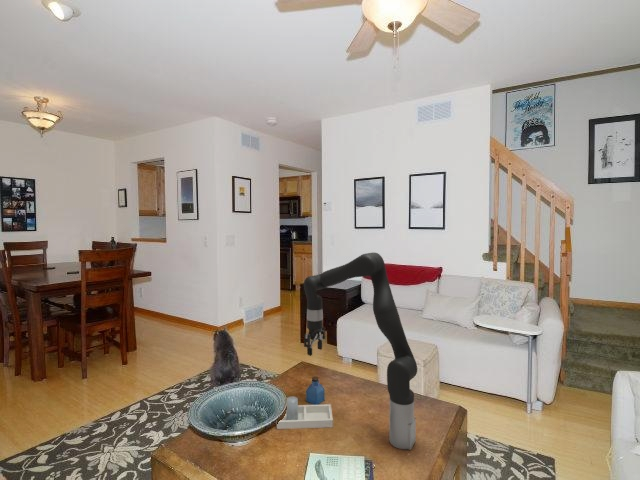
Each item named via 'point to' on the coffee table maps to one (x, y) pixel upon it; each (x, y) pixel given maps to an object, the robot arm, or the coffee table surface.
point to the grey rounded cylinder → (292, 408)
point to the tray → (309, 417)
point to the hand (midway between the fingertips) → (315, 352)
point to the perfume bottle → (315, 392)
